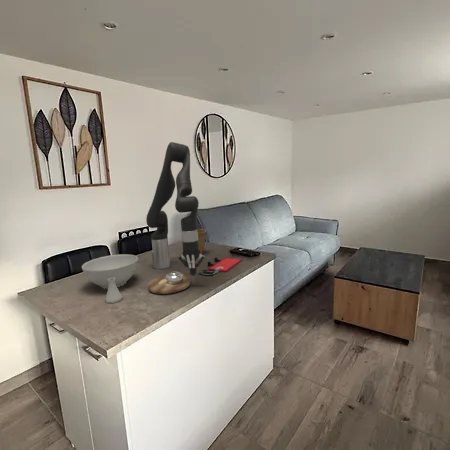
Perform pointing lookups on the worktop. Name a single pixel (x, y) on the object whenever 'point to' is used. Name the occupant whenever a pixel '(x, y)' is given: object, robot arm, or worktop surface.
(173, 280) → the cover
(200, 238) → the plant pot
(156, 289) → the turntable
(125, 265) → the decorative bowl
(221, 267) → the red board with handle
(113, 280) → the flask
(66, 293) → the worktop surface
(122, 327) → the worktop surface
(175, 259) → the worktop surface
